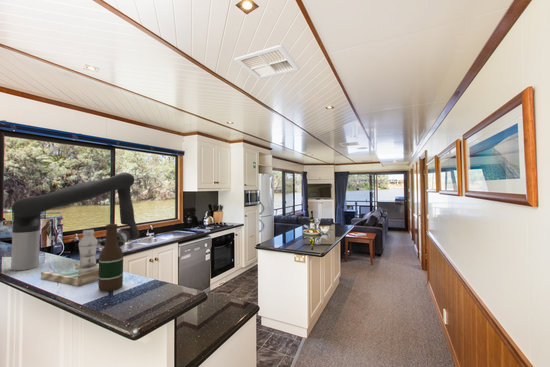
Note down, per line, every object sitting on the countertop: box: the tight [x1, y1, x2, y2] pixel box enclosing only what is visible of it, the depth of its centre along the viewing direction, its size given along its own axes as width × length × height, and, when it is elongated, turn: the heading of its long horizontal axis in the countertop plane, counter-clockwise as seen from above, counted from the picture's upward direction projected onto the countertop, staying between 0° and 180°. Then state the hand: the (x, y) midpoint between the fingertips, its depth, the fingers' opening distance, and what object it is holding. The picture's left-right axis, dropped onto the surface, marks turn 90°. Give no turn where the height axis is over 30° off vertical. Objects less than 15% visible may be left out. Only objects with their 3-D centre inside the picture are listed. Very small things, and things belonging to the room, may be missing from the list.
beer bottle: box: [97, 223, 124, 293], centre depth 94 cm, size 8×8×24 cm
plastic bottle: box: [78, 229, 98, 275], centre depth 104 cm, size 6×7×20 cm
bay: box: [40, 262, 99, 287], centre depth 106 cm, size 24×14×4 cm, turn 70°
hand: (99, 246), depth 113 cm, fingers open, 8 cm apart
